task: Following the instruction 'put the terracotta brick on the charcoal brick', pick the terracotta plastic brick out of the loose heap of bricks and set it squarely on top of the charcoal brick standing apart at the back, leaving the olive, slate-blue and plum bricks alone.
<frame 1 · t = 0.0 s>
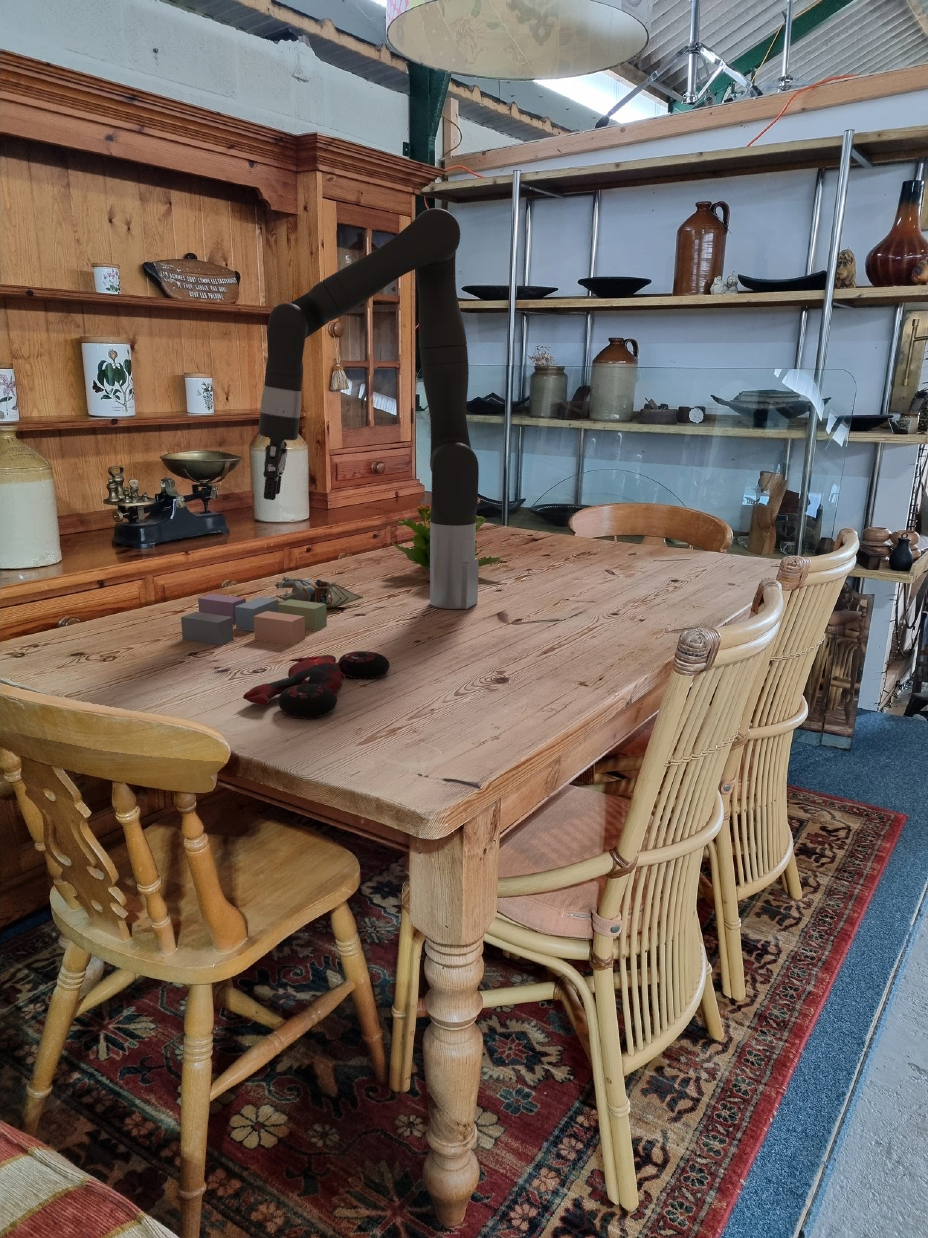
hand: (271, 496, 171), 22 cm above the table, tool pointing down, fingers open, 8 cm apart
charcoal brick: (208, 640, 155), on the table
olive brick: (302, 626, 164), on the table
plum brick: (223, 620, 167), on the table
slate blue brick: (258, 625, 165), on the table
toy motorcycle: (314, 691, 132), on the table
potted flower: (451, 575, 208), on the table
figurine: (319, 607, 179), on the table
terracotta brick: (280, 639, 156), on the table
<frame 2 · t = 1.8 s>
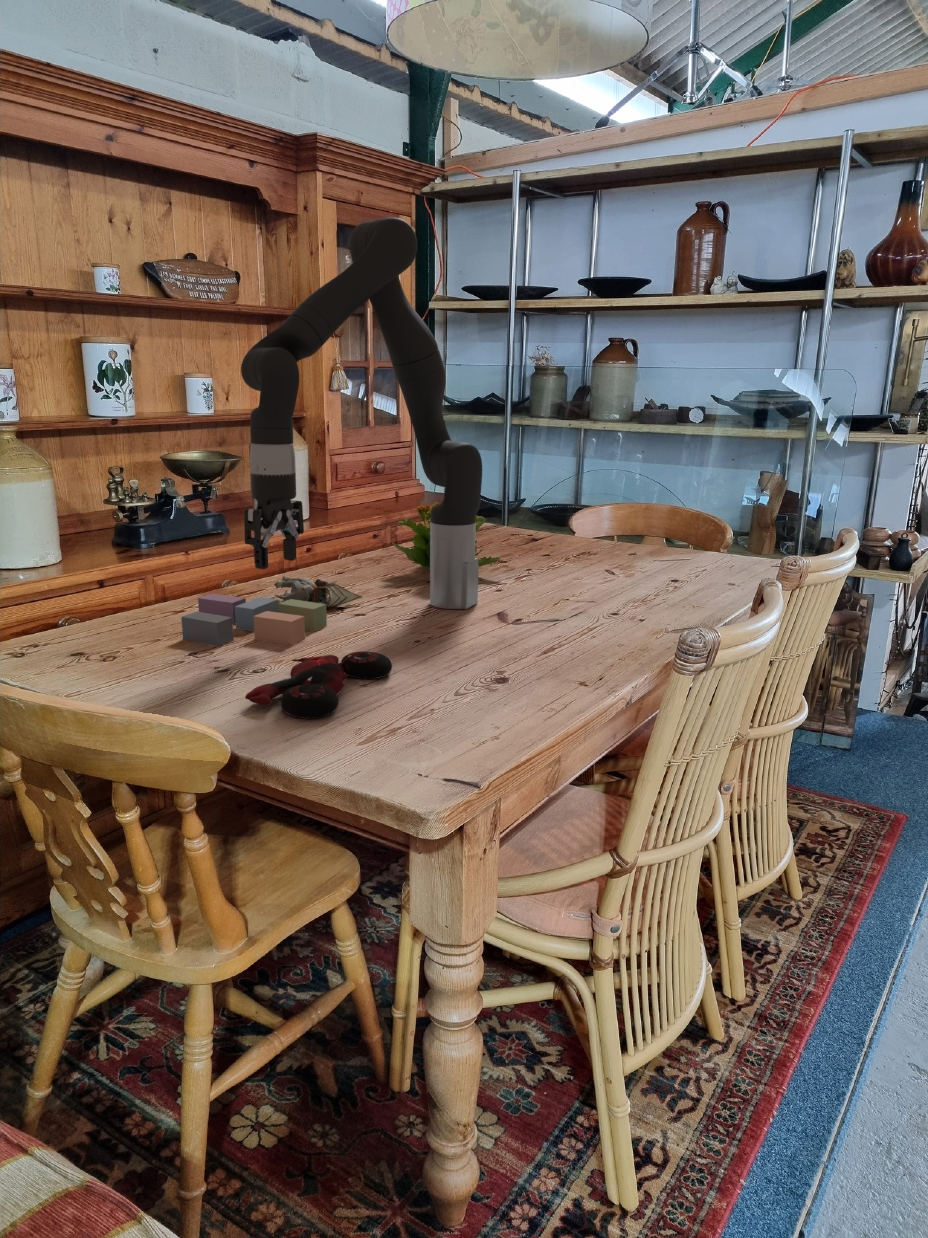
hand: (276, 564, 152), 14 cm above the table, tool pointing down, fingers open, 8 cm apart
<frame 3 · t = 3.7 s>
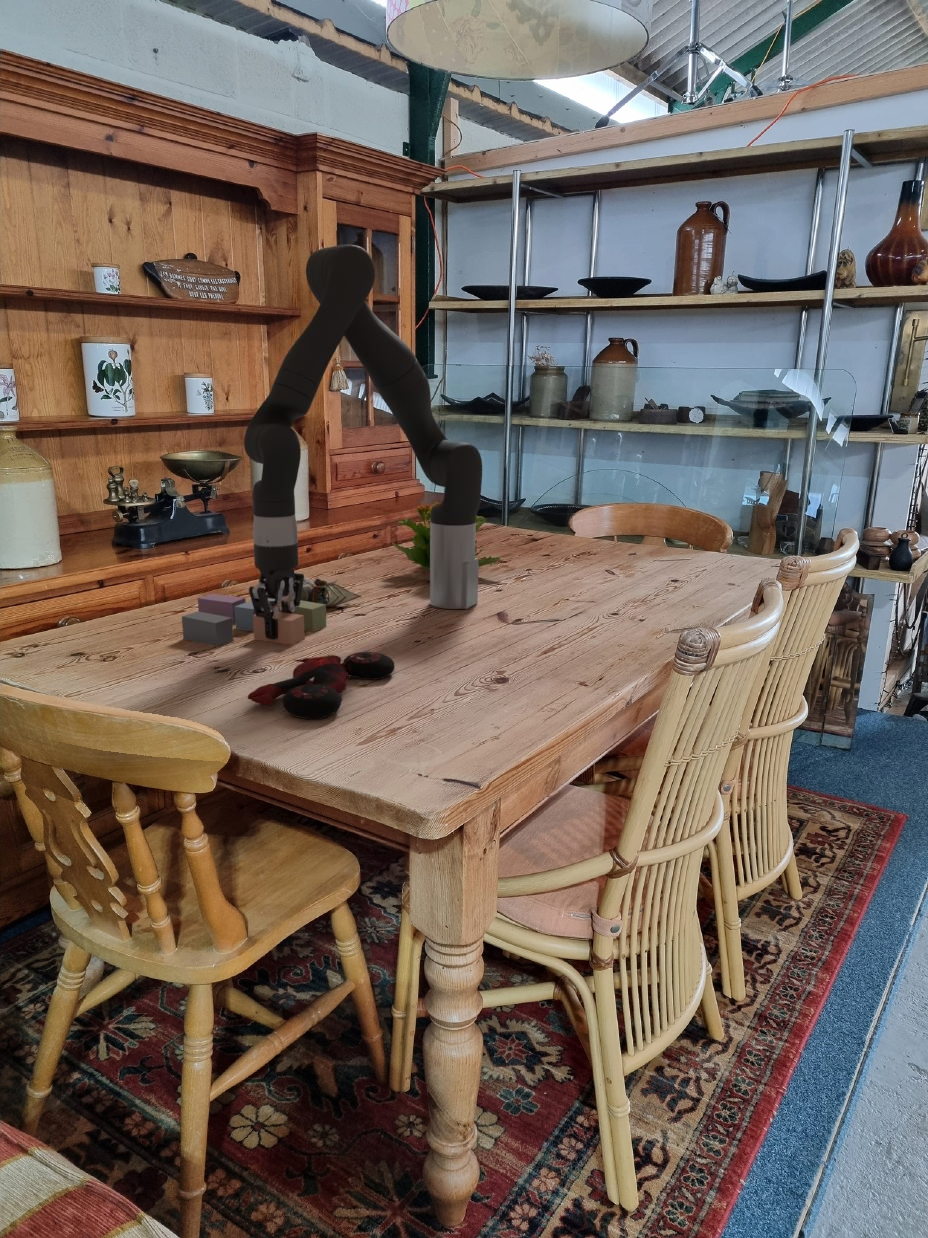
hand: (279, 634, 156), 1 cm above the table, tool pointing down, fingers closed on terracotta brick, 4 cm apart
terracotta brick: (279, 639, 156), on the table, touching gripper
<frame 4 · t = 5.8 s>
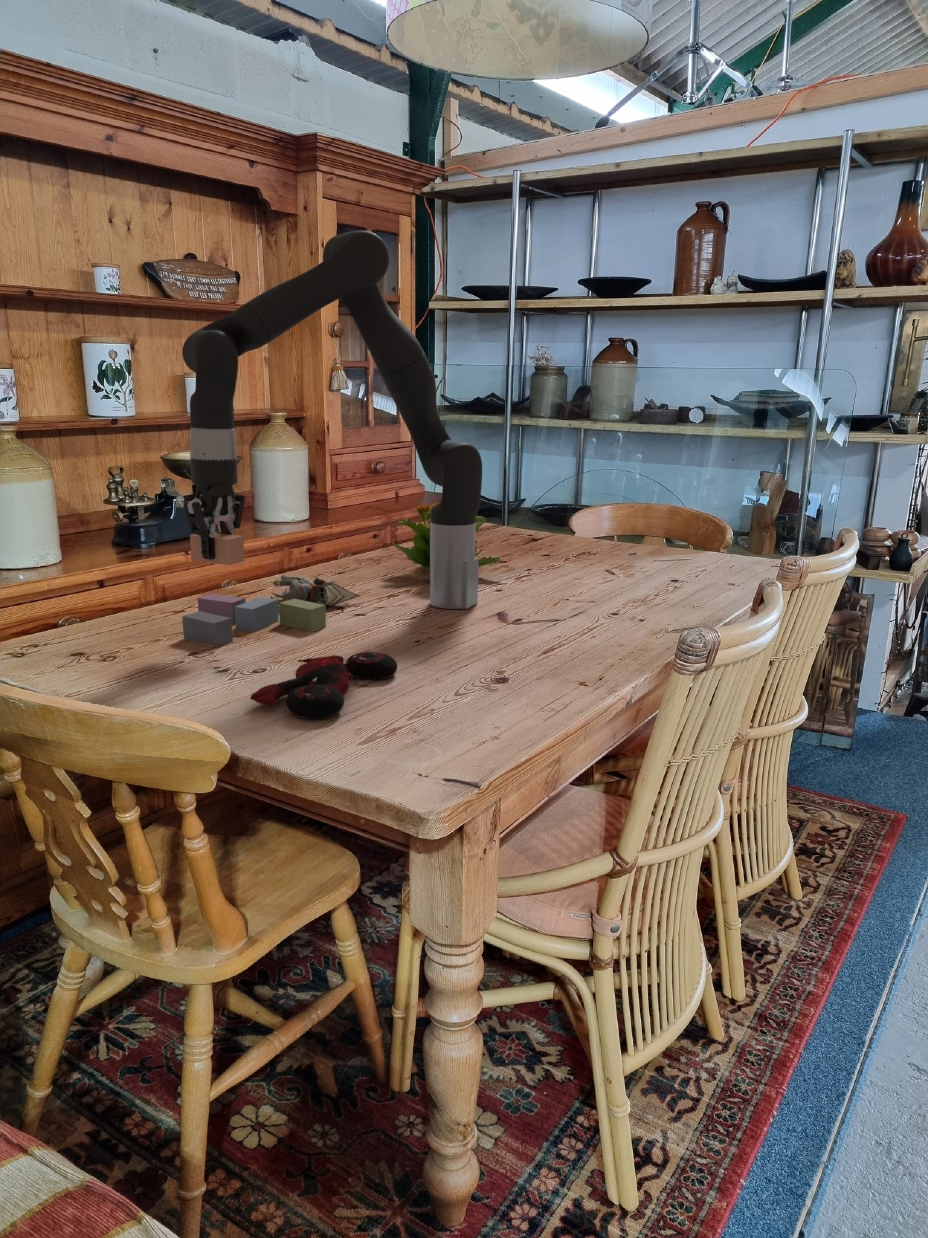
hand: (217, 556, 150), 15 cm above the table, tool pointing down, fingers closed on terracotta brick, 4 cm apart
terracotta brick: (217, 560, 150), point 14 cm above the table, touching gripper
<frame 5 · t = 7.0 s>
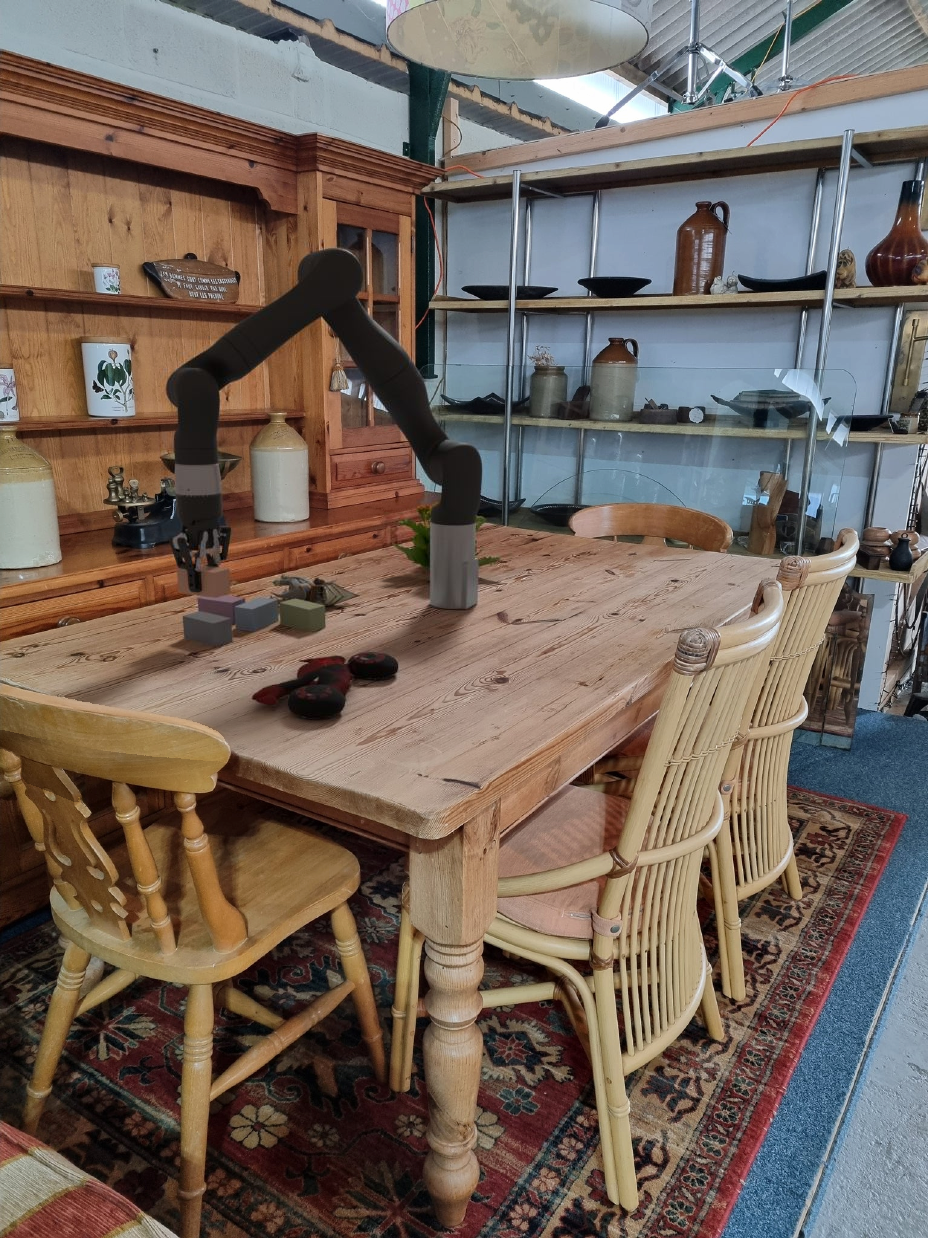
hand: (204, 588, 152), 9 cm above the table, tool pointing down, fingers closed on terracotta brick, 4 cm apart
terracotta brick: (204, 592, 152), point 9 cm above the table, touching gripper
when the fingers open (6 cm above the table, at t = 7.9 s): terracotta brick drops 1 cm, point 4 cm above the table.
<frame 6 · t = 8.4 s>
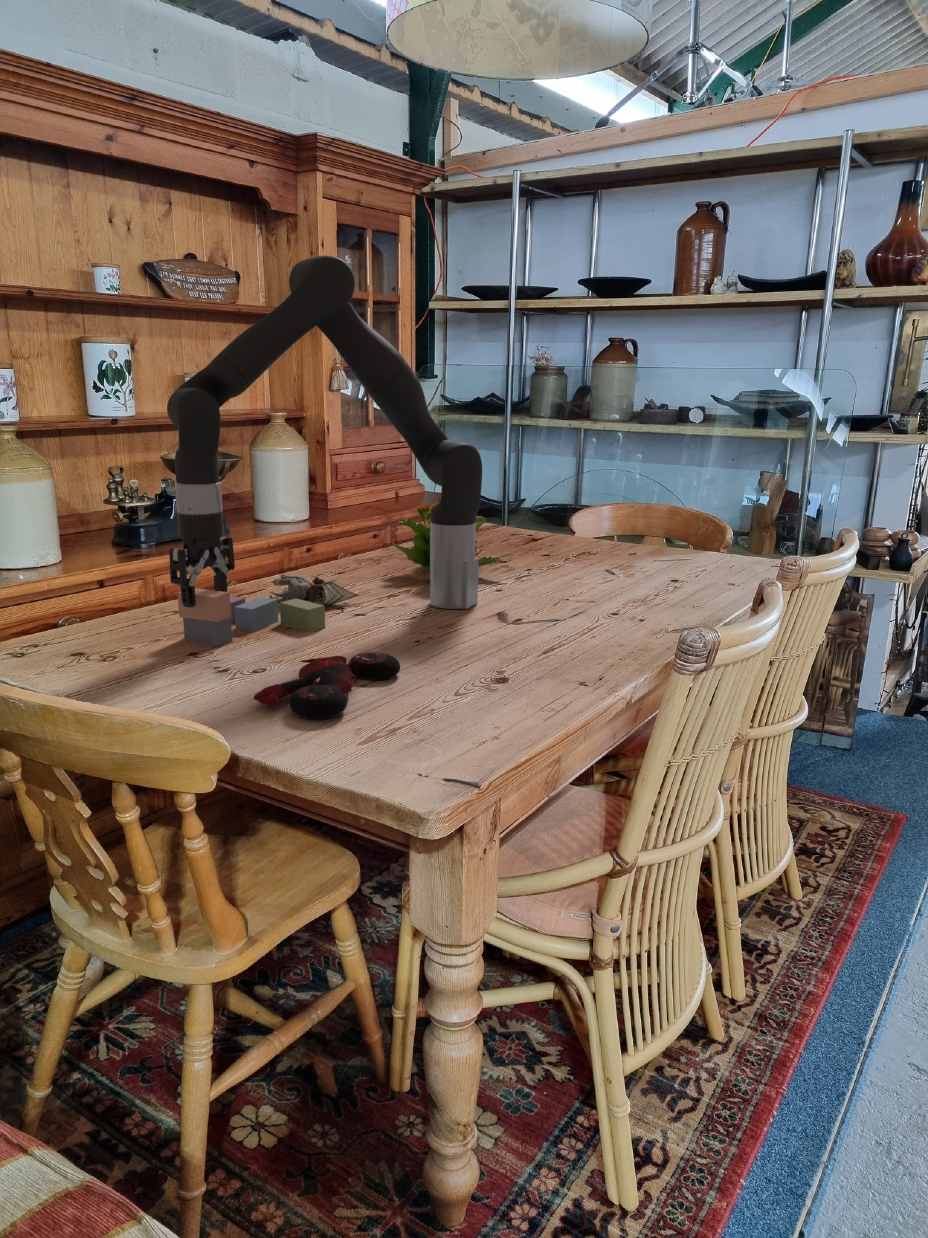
hand: (205, 601, 153), 7 cm above the table, tool pointing down, fingers open, 8 cm apart
terracotta brick: (205, 616, 153), point 4 cm above the table
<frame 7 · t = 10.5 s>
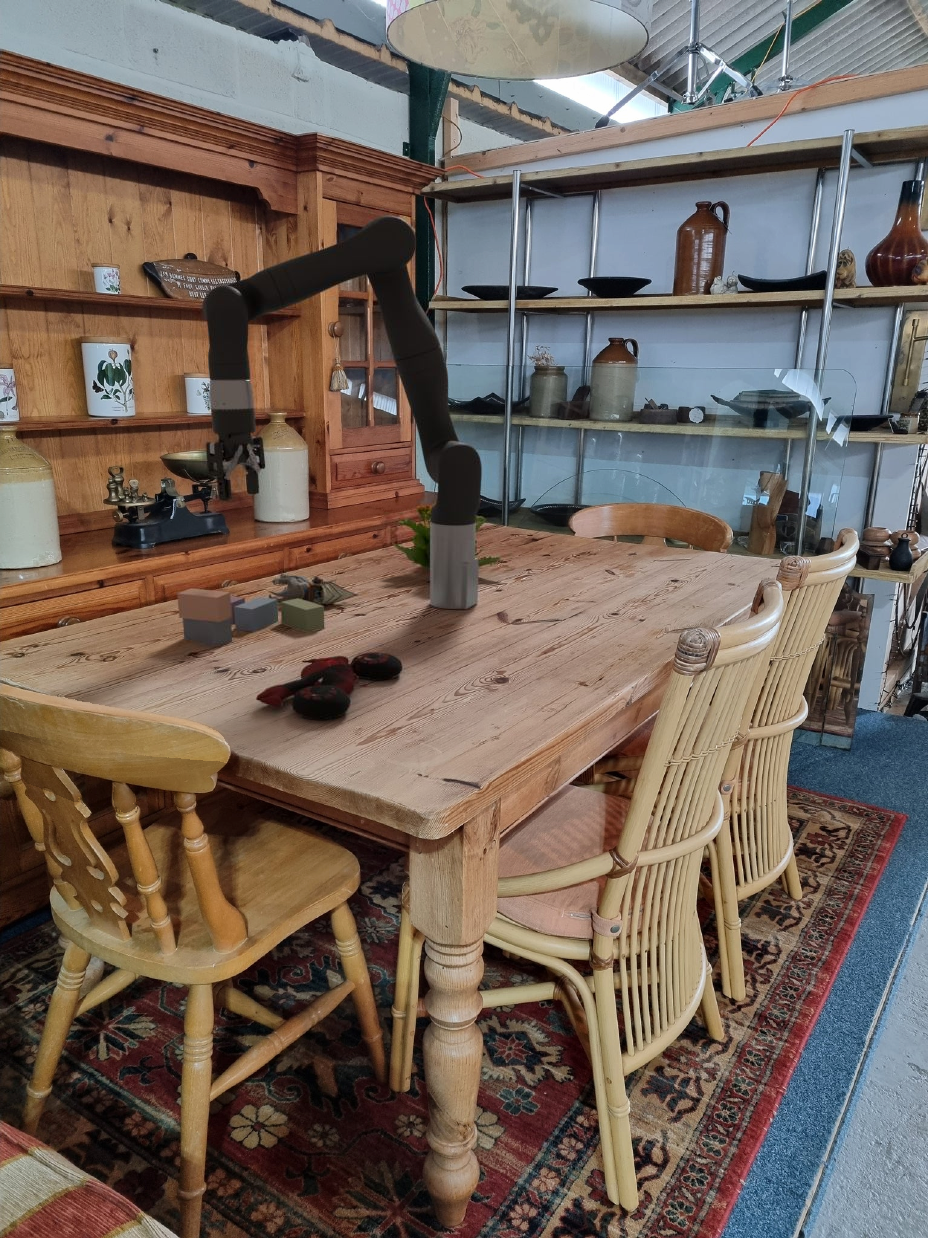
hand: (239, 496, 160), 24 cm above the table, tool pointing down, fingers open, 8 cm apart
charcoal brick: (208, 640, 154), on the table, touching terracotta brick
terracotta brick: (205, 617, 153), point 4 cm above the table, touching charcoal brick
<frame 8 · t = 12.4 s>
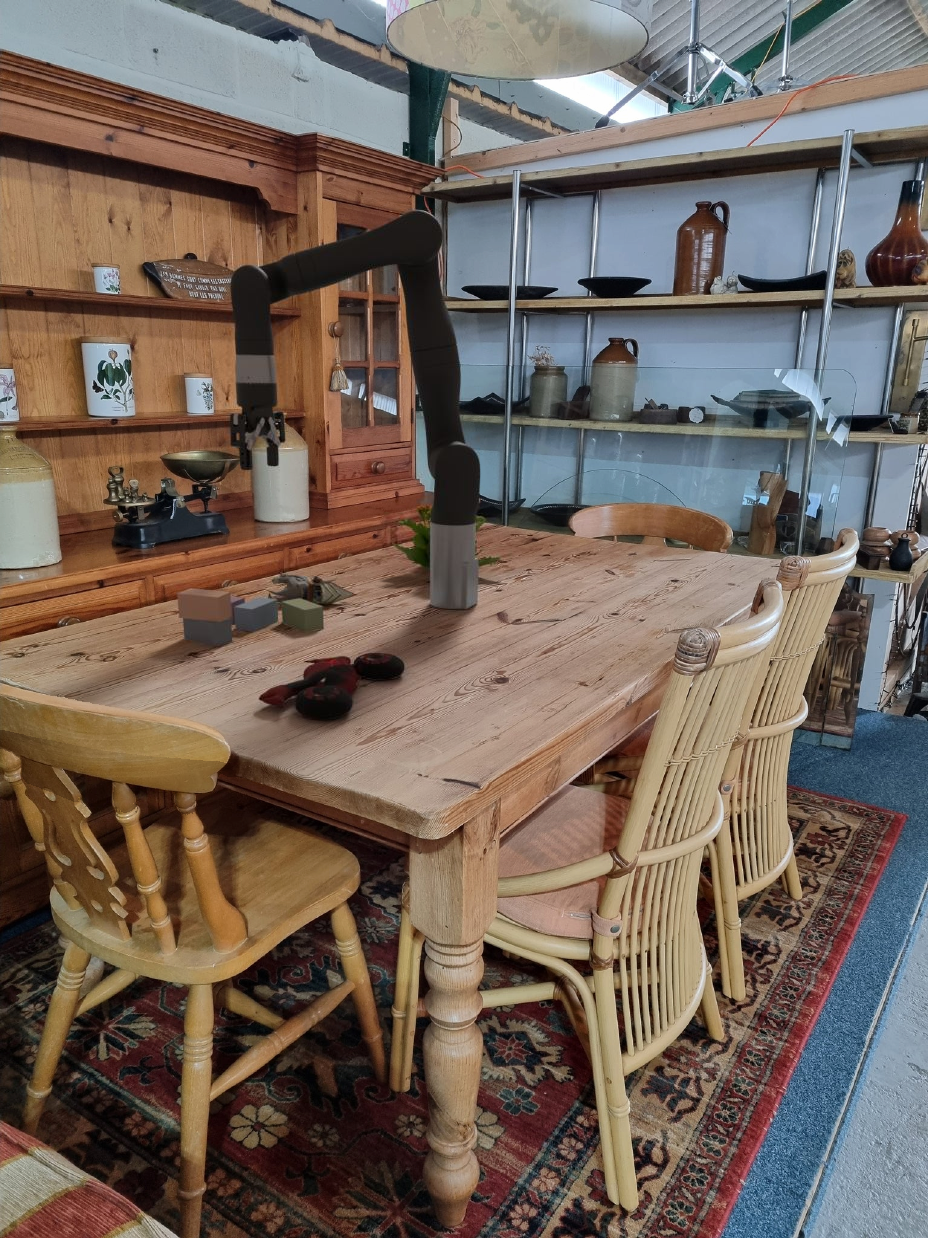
hand: (260, 467, 168), 28 cm above the table, tool pointing down, fingers open, 8 cm apart
at the end: terracotta brick 0.2 cm off-centre on the charcoal brick, point 4.4 cm above the charcoal brick's base; charcoal brick moved 0.2 cm from its start; slate blue brick moved 0.3 cm from its start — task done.
